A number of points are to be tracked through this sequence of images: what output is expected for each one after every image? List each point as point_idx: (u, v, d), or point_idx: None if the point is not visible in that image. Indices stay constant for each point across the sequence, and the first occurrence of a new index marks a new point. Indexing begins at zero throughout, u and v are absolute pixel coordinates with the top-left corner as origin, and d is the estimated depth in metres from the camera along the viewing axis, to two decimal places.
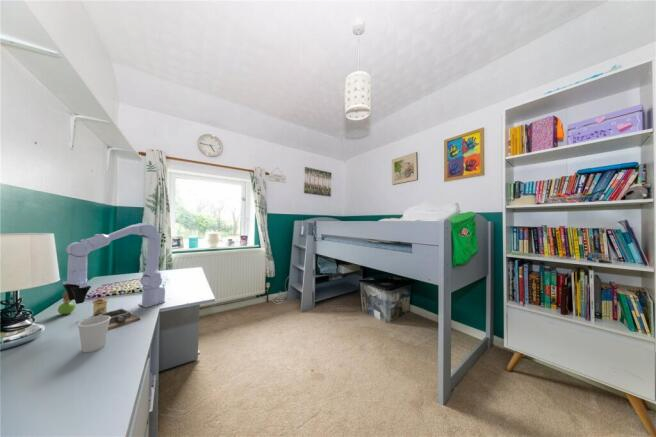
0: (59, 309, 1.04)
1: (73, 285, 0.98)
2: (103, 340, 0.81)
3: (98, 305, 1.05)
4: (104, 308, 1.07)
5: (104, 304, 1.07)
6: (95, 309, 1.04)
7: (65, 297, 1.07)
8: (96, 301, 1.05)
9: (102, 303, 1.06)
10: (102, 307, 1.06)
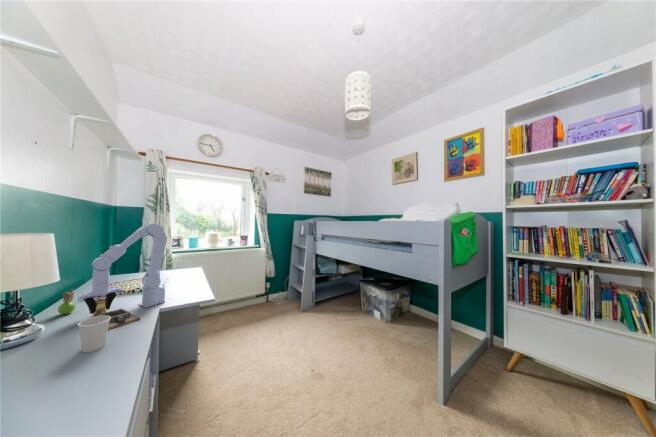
0: (59, 309, 1.04)
1: (107, 296, 1.09)
2: (103, 340, 0.81)
3: (98, 305, 1.05)
4: (104, 308, 1.07)
5: (104, 304, 1.07)
6: (95, 309, 1.04)
7: (65, 297, 1.07)
8: (96, 301, 1.05)
9: (102, 303, 1.06)
10: (102, 307, 1.06)
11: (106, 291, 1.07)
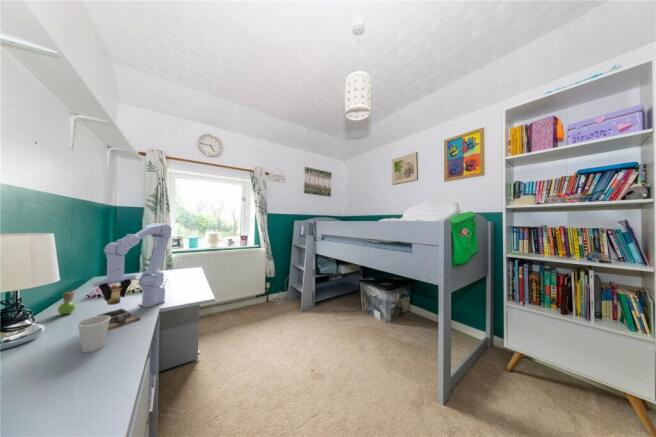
0: (59, 309, 1.04)
1: (122, 283, 1.05)
2: (103, 340, 0.81)
3: (113, 292, 1.00)
4: (118, 296, 1.02)
5: (119, 292, 1.02)
6: (109, 296, 1.00)
7: (65, 297, 1.07)
8: (111, 288, 1.01)
9: (117, 291, 1.01)
10: (117, 295, 1.01)
11: (121, 278, 1.02)
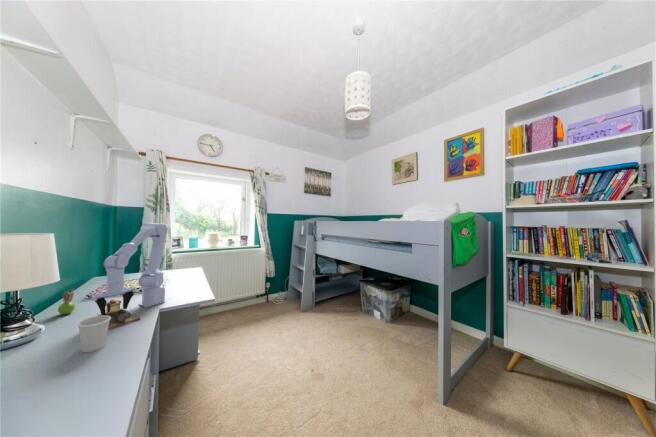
0: (59, 309, 1.04)
1: (125, 295, 1.05)
2: (103, 340, 0.81)
3: (111, 307, 1.00)
4: (117, 310, 1.02)
5: (117, 306, 1.02)
6: (108, 311, 1.00)
7: (65, 297, 1.07)
8: (109, 303, 1.01)
9: (115, 305, 1.01)
10: (116, 309, 1.01)
11: (121, 291, 1.02)
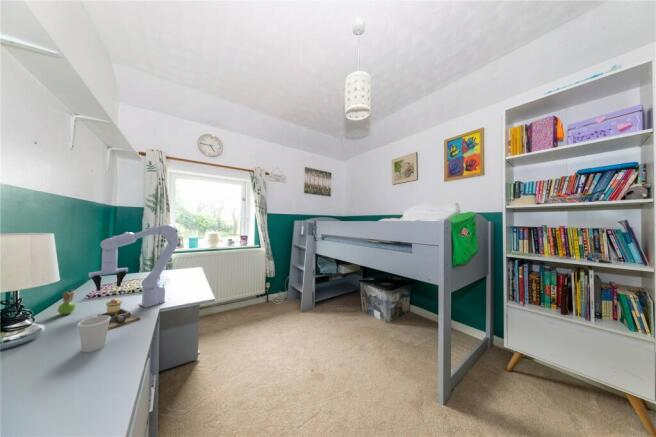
0: (59, 309, 1.04)
1: (118, 274, 1.17)
2: (103, 340, 0.81)
3: (112, 307, 1.00)
4: (117, 310, 1.02)
5: (118, 306, 1.02)
6: (108, 311, 1.00)
7: (65, 297, 1.07)
8: (110, 303, 1.01)
9: (116, 305, 1.01)
10: (116, 309, 1.01)
11: (114, 270, 1.14)
